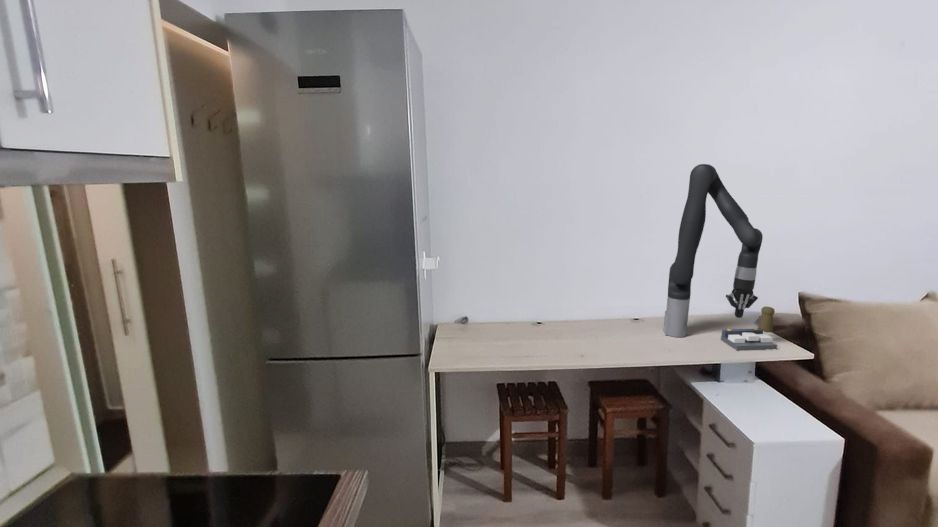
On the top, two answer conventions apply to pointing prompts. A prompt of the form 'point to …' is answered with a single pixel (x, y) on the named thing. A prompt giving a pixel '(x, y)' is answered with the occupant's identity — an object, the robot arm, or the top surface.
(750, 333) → the middle key
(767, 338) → the outer key
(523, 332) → the top surface
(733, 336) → the inner key
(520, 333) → the top surface
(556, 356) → the top surface
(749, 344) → the keypad
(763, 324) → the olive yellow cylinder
